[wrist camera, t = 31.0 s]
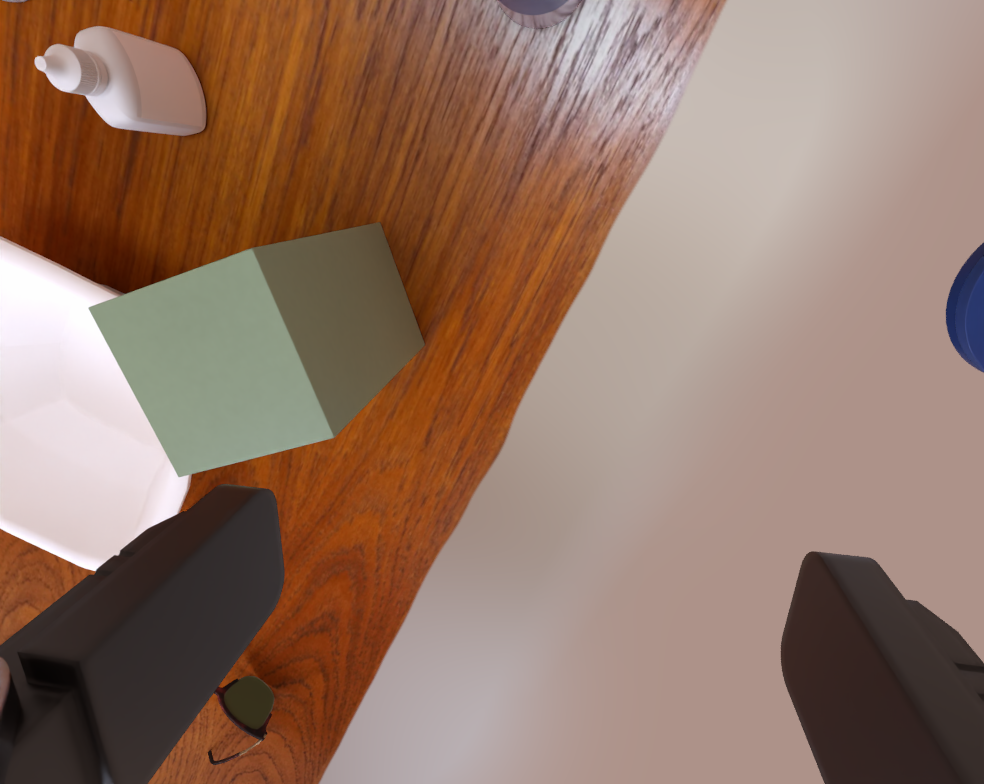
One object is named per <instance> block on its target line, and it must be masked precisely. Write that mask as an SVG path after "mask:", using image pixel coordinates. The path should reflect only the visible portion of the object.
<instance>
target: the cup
mask: <svg viewBox="0 0 984 784" xmlns="http://www.w3.org/2000/svg"><path fill="white" fill-rule="evenodd" d="M3 1H7V2H24V1H28V0H3Z"/></svg>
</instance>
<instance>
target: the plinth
mask: <svg viewBox="0 0 984 784" xmlns="http://www.w3.org/2000/svg"><path fill="white" fill-rule="evenodd" d="M88 309H89V311H90V313H91V315H92V316H93V318H94V320H95V322H96V324H97V326H98V328H99V330H100V331H101V333H102V335H103V337H104V339H105V341H106V343H107V344H108V346H109V348H110V350H111V352H112V354H113V356H114V358H115V359H116V361H117V363H118V365H119V367H120V369H121V371H122V373H123V374H124V376H125V378H126V380H127V382H128V384H129V386H130V387H131V389H132V391H133V393H134V395H135V397H136V399H137V401H138V402H139V404H140V406H141V408H142V410H143V412H144V414H145V415H146V417H147V419H148V421H149V423H150V425H151V427H152V429H153V430H154V432H155V434H156V436H157V438H158V440H159V442H160V443H161V445H162V447H163V449H164V451H165V453H166V455H167V457H168V458H169V460H170V462H171V464H172V466H173V468H174V470H175V472H176V473H177V475H178V477H183V476H187V475H190V474H194V473H198V472H202V471H206V470H210V469H214V468H218V467H222V466H226V465H229V464H233V463H237V462H241V461H245V460H249V459H253V458H257V457H261V456H265V455H269V454H272V453H276V452H280V451H284V450H288V449H292V448H296V447H300V446H304V445H308V444H311V443H315V442H319V441H323V440H327V439H331V438H334V437H335V436H336V435H337V434H338V433H339V432H340V431H341V430H342V429H343V428H344V427H345V426H346V425H347V424H348V423H349V422H350V421H351V420H352V419H353V418H354V417H355V416H356V415H357V414H358V413H359V412H360V411H361V410H362V409H363V408H364V407H365V406H366V405H367V404H368V403H369V402H370V401H371V400H372V399H373V398H374V397H375V396H376V395H377V394H378V393H379V392H380V390H381V389H382V388H383V387H384V386H385V385H386V384H387V383H388V382H389V381H390V380H391V379H392V378H393V377H394V376H395V375H396V374H397V373H398V372H399V371H400V370H401V369H402V368H403V367H404V366H405V365H406V364H407V363H408V362H409V361H410V360H411V359H412V358H413V357H414V356H415V355H416V354H417V353H418V352H419V351H420V350H421V349H422V348H423V347H424V346H425V343H424V340H423V338H422V335H421V332H420V330H419V327H418V324H417V321H416V319H415V316H414V313H413V310H412V308H411V305H410V302H409V300H408V297H407V294H406V291H405V289H404V286H403V283H402V280H401V278H400V275H399V272H398V270H397V267H396V264H395V261H394V259H393V256H392V253H391V250H390V248H389V245H388V242H387V240H386V237H385V234H384V231H383V229H382V226H381V223H380V222H378V223H373V224H368V225H363V226H358V227H353V228H349V229H344V230H339V231H334V232H329V233H324V234H319V235H314V236H309V237H304V238H299V239H294V240H289V241H284V242H280V243H275V244H270V245H265V246H260V247H255V248H251V249H248V250H245V251H242V252H240V253H237V254H234V255H231V256H229V257H226V258H223V259H220V260H218V261H215V262H212V263H209V264H207V265H204V266H201V267H198V268H196V269H193V270H190V271H187V272H185V273H182V274H179V275H176V276H173V277H171V278H168V279H165V280H162V281H160V282H157V283H154V284H151V285H149V286H146V287H143V288H140V289H138V290H135V291H132V292H129V293H127V294H124V295H121V296H118V297H116V298H113V299H110V300H107V301H105V302H102V303H99V304H96V305H94V306H91V307H89V308H88Z"/></svg>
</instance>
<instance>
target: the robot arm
mask: <svg viewBox="0 0 984 784" xmlns="http://www.w3.org/2000/svg"><path fill="white" fill-rule="evenodd" d="M283 583H284V562H283V554H282V545H281V536H280V528H279V519H278V510H277V503H276V498H275V496H274V494H273V492H272V491H271V490H269V489H264V488H255V487H246V486H237V485H228V484H221V485H219V486H217V487H215V488H214V489H213V490H211V491H210V492H209V493H208V494H207V495H205V496H204V497H203V498H202V499H201V500H199V501H198V502H197V503H196V504H195V505H193V506H192V507H191V508H190V509H188V510H187V511H186V512H184V511H183V512H181V513H179V514H177V515H175V516H173V517H170V518H168V519H166V520H164V521H162V522H160V523H158V524H156V525H154V526H152V527H150V528H148V529H146V530H145V531H144V532H143V533H141V534H140V535H139V536H138V537H136V538H135V539H134V540H133V541H131V542H130V543H129V544H128V545H126V546H125V547H124V548H123V549H121V550H120V554H119V555H118V556H117V555H114V556H112V557H111V558H110V559H109V560H107V561H106V562H105V563H104V564H102V565H101V566H100V567H99V568H97V569H96V573H95V574H94V575H89V576H87V577H86V578H85V579H83V580H82V581H81V582H80V583H78V584H77V585H76V586H75V587H73V588H72V589H71V590H70V591H68V592H67V593H66V594H65V595H63V596H62V597H61V598H60V599H58V600H57V601H56V602H55V603H53V604H52V605H51V606H49V607H48V608H47V609H46V610H44V611H43V612H42V613H41V614H39V615H38V616H37V617H36V618H34V619H33V620H32V621H31V622H29V623H28V624H27V625H26V626H24V627H23V628H22V629H20V630H19V631H18V632H17V633H15V634H14V635H13V636H12V637H10V638H9V639H8V640H7V641H5V642H4V643H3V644H2V645H0V784H148V782H149V781H150V779H151V778H152V777H153V775H154V774H155V773H156V771H157V770H158V768H159V767H160V766H161V764H162V763H163V762H164V760H165V759H166V757H167V756H168V755H169V753H170V752H171V751H172V749H173V748H174V746H175V745H176V744H177V742H178V741H179V740H180V738H181V737H182V735H183V734H184V733H185V731H186V730H187V729H188V727H189V726H190V724H191V723H192V722H193V720H194V719H195V718H196V716H197V715H198V713H199V712H200V711H201V709H202V708H203V707H204V705H205V704H206V702H207V701H208V700H209V698H210V697H211V696H212V694H213V693H214V691H215V690H216V689H217V687H218V686H219V685H220V683H221V682H222V680H223V679H224V678H225V676H226V675H227V674H228V672H229V671H230V669H231V668H232V667H233V665H234V664H235V663H236V661H237V660H238V658H239V657H240V656H241V654H242V653H243V652H244V650H245V649H246V647H247V646H248V645H249V643H250V642H251V641H252V639H253V638H254V636H255V635H256V634H257V632H258V631H259V630H260V628H261V627H262V625H263V624H264V623H265V621H266V620H267V619H268V617H269V616H270V614H271V613H272V612H273V610H274V609H275V607H276V605H277V603H278V600H279V598H280V595H281V592H282V588H283ZM781 665H782V672H783V677H784V681H785V684H786V687H787V689H788V692H789V694H790V697H791V699H792V702H793V705H794V707H795V710H796V712H797V715H798V717H799V720H800V722H801V725H802V727H803V730H804V732H805V735H806V737H807V740H808V743H809V745H810V748H811V750H812V753H813V755H814V758H815V760H816V763H817V765H818V768H819V770H820V773H821V776H822V778H823V780H824V783H825V784H984V663H983V662H982V661H981V659H980V658H979V657H978V656H977V655H976V653H975V652H974V651H973V650H972V649H971V647H970V646H969V645H968V644H967V642H966V641H965V640H964V639H963V638H962V636H961V635H960V634H959V633H958V632H957V631H956V630H955V629H953V628H952V627H951V626H949V625H948V624H947V623H945V622H944V621H943V620H941V619H940V618H939V617H937V616H936V615H935V614H934V613H932V612H931V611H930V610H928V609H927V608H925V607H924V606H923V605H922V604H920V603H919V602H918V601H913V600H906V599H905V598H904V597H903V596H902V594H901V593H900V592H899V590H898V589H897V588H896V587H895V585H894V584H893V582H892V581H891V580H890V578H889V577H888V576H887V575H886V573H885V572H884V571H883V569H882V568H881V567H880V565H879V564H878V563H877V562H876V561H875V560H873V559H871V558H866V557H859V556H850V555H841V554H832V553H822V552H809V553H808V554H807V555H806V556H805V558H804V560H803V562H802V565H801V568H800V572H799V576H798V580H797V583H796V587H795V591H794V594H793V598H792V602H791V606H790V609H789V613H788V617H787V621H786V625H785V628H784V632H783V636H782V642H781Z"/></svg>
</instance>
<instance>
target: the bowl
mask: <svg viewBox="0 0 984 784" xmlns="http://www.w3.org/2000/svg"><path fill="white" fill-rule="evenodd" d="M121 295H124V293H122V292H120V291H118V290H116V289H113V288H111V287H109V286H106V285H102V284H98V283H95V282H93V281H91V280H89V279H87V278H85V277H83V276H81V275H79V274H77V273H75V272H73V271H72V270H70V269H68V268H66V267H64V266H62V265H60V264H58V263H56V262H53V261H51V260H49V259H47V258H45V257H43V256H41V255H39V254H37V253H35V252H33V251H30V250H28V249H26V248H24V247H22V246H20V245H18V244H16V243H14V242H12V241H10V240H7V239H5V238H3V237H1V236H0V529H2V530H4V531H6V532H8V533H10V534H12V535H14V536H16V537H19V538H21V539H23V540H25V541H27V542H29V543H31V544H33V545H36V546H38V547H40V548H42V549H44V550H46V551H48V552H50V553H53V554H55V555H57V556H59V557H61V558H63V559H65V560H68V561H70V562H72V563H74V564H76V565H78V566H80V567H83V568H86V569H90V570H94V571H96V569H97V568H99V567H100V566H101V565H102V564H104V563H105V562H106V561H107V560H109V559H110V558H111V557H112V556H114V555H117V556H118V555H119V554H120V550H121V549H123V548H124V547H125V546H126V545H128V544H129V543H130V542H131V541H133V540H134V539H135V538H136V537H138V536H139V535H140V534H141V533H143V532H144V531H145V530H146V529H148V528H150V527H152V526H154V525H156V524H158V523H160V522H162V521H164V520H166V519H168V518H170V517H173V516H175V515H177V514H179V512H180V509H181V507H182V505H183V502H184V500H185V497H186V495H187V492H188V490H189V488H190V483H191V477H192V474H190V475H187V476H183V477H178V475H177V473H176V472H175V470H174V468H173V466H172V464H171V462H170V460H169V458H168V457H167V455H166V453H165V451H164V449H163V447H162V445H161V443H160V442H159V440H158V438H157V436H156V434H155V432H154V430H153V429H152V427H151V425H150V423H149V421H148V419H147V417H146V415H145V414H144V412H143V410H142V408H141V406H140V404H139V402H138V401H137V399H136V397H135V395H134V393H133V391H132V389H131V387H130V386H129V384H128V382H127V380H126V378H125V376H124V374H123V373H122V371H121V369H120V367H119V365H118V363H117V361H116V359H115V358H114V356H113V354H112V352H111V350H110V348H109V346H108V344H107V343H106V341H105V339H104V337H103V335H102V333H101V331H100V330H99V328H98V326H97V324H96V322H95V320H94V318H93V316H92V315H91V313H90V311H89V309H88V308H89V307H91V306H94V305H96V304H99V303H102V302H105V301H107V300H110V299H113V298H116V297H118V296H121Z"/></svg>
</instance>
